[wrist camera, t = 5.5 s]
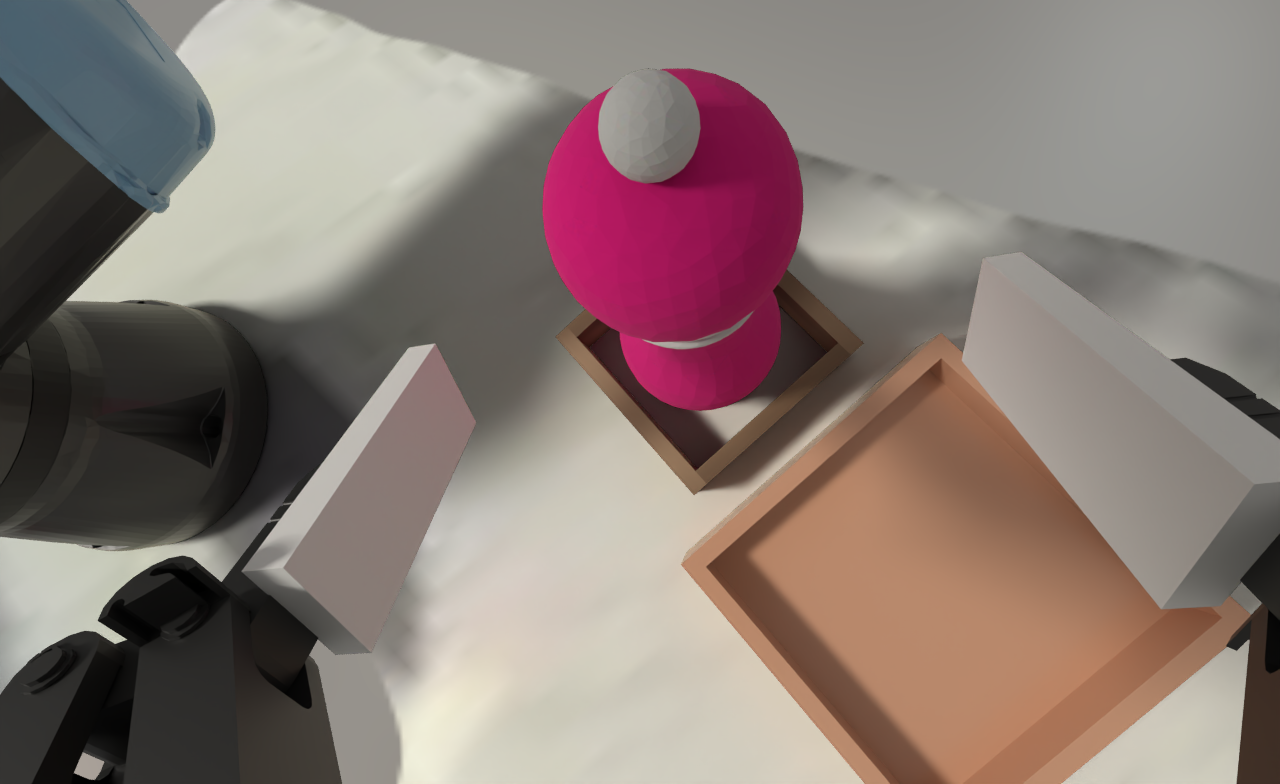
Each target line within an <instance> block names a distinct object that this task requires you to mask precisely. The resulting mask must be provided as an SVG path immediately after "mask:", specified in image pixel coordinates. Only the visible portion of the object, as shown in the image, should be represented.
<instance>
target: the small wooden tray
mask: <svg viewBox="0 0 1280 784" xmlns="http://www.w3.org/2000/svg"><path fill="white" fill-rule="evenodd" d="M773 292H774V294H775V297H776V299H777V303H778V305H780V306H781V307H782V308H783V309H784V310H785V311H786V312H787V313H788V314H789V315H790V316H791V317H792V318H793V319H794V320H795V321H796V322H797V323H798V324H799V325H800V326H801V327H802V328H803V329H804V330H805V331H806V332H807V333H808V334H809V335H810V336H811V337H812V338H813V339H814V340H815V341H816V342H817V343H818V344H819V345H820V346H821V347H822V348H823V349H824V350H825V351H827V353H826V354H825V355H824V356H823V357H822V358H821V359H820V360H819V361H817V362H816V363H815V364H814V365H813V366H812V367H811V368H810V369H809V370H807V371H806V372H805V373H804V374H803V375H802V376H801V377H800V378H798V379H797V380H796V381H795V382H794V383H793V384H792V385H791V386H790V387H788V388H787V389H786V390H785V391H784V392H783V393H782V394H781V395H780V396H778V397H777V398H776V399H775V400H774V401H773V402H772V403H771V404H770V405H768V406H767V407H766V408H765V409H764V410H763V411H762V412H761V413H760V414H758V415H757V416H756V417H755V418H754V419H753V420H752V421H751V422H750V423H748V424H747V425H746V426H745V427H744V428H743V429H742V430H741V431H740V432H738V433H737V434H736V435H735V436H734V437H733V438H732V439H731V440H729V441H728V442H727V443H726V444H725V445H724V446H723V447H722V448H721V449H719V450H718V451H717V452H716V453H715V454H714V455H713V456H712V457H711V458H709V459H708V460H707V461H706V462H705V463H704V464H703V465H702V466H701V467H699V468H698V469H697V468H696V466H695V465H694V464H693V463H692V462H691V461H690V460H689V459H688V457H687V456H686V455H685V454H684V453H683V452H682V451H681V450H680V448H679V447H678V446H677V445H676V444H675V443H674V442H673V441H672V440H671V438H670V437H669V436H668V435H667V434H666V433H665V432H664V431H663V429H662V428H661V427H660V426H659V425H658V424H657V423H656V422H655V420H654V419H653V418H652V417H651V416H650V415H649V414H648V413H647V411H646V410H645V409H644V408H643V407H642V406H641V405H640V404H639V402H638V401H637V400H636V399H635V398H634V397H633V396H632V395H631V393H630V392H629V391H628V390H627V389H626V388H625V387H624V386H623V384H622V383H621V382H620V381H619V380H618V379H617V378H616V377H615V375H614V374H613V373H612V372H611V371H610V370H609V369H608V368H607V367H606V365H605V364H604V363H603V362H602V361H601V360H600V359H599V358H598V356H597V355H596V354H595V353H594V352H593V351H592V350H591V349H590V347H591V346H592V345H593V344H594V343H595V342H596V341H597V340H598V339H599V338H600V337H602V336H603V335H604V334H605V333H606V332H607V331H608V330H609V329H610V328H611V327H609V326H608V325H606V324H605V323H603V322H602V321H600V320H599V319H597V318H596V317H594V316H593V315H592V314H591V313H590V312H589V311H587V310H586V309H585V310H584V311H583V312H582V313H581V314H580V315H578V316H577V317H576V318H575V319H574V320H573V321H572V322H571V323H570V324H569V325H568V326H567V327H566V328H564V329H563V330H562V331H561V332H560V333H559V334H558V335H557V336H556V338H557V339H558V340H559V342H560V343H561V344H562V345H563V346H564V347H565V348H566V350H567V351H568V352H569V353H570V354H571V355H572V356H573V358H574V359H575V360H576V361H577V362H578V363H579V364H580V366H581V367H582V368H583V369H584V370H585V371H586V372H587V374H588V375H589V376H590V377H591V378H592V379H593V380H594V382H595V383H596V384H597V385H598V386H599V387H600V388H601V390H602V391H603V392H604V393H605V394H606V395H607V396H608V398H609V399H610V400H611V401H612V402H613V403H614V404H615V406H616V407H617V408H618V409H619V410H620V411H621V412H622V413H623V415H624V416H625V417H626V418H627V419H628V420H629V421H630V423H631V424H632V425H633V426H634V427H635V428H636V429H637V431H638V432H639V433H640V434H641V435H642V436H643V437H644V439H645V440H646V441H647V442H648V443H649V444H650V445H651V447H652V448H653V449H654V450H655V451H656V452H657V453H658V455H659V456H660V457H661V458H662V459H663V460H664V461H665V463H666V464H667V465H668V466H669V467H670V468H671V469H672V471H673V472H674V473H675V474H676V475H677V476H678V477H679V479H680V480H681V481H682V482H683V483H684V484H685V485H686V487H687V488H688V489H689V490H690V491H691V492H692V493H693V495H695V494H696V493H697V492H698V491H700V490H701V489H702V488H703V487H704V486H705V485H706V484H707V483H709V482H710V481H711V480H712V479H713V478H714V477H715V476H716V475H717V474H719V473H720V472H721V471H722V470H723V469H724V468H725V467H726V466H728V465H729V464H730V463H731V462H732V461H733V460H734V459H735V458H736V457H738V456H739V455H740V454H741V453H742V452H743V451H744V450H745V449H746V448H748V447H749V446H750V445H751V444H752V443H753V442H754V441H755V440H757V439H758V438H759V437H760V436H761V435H762V434H763V433H764V432H765V431H767V430H768V429H769V428H770V427H771V426H772V425H773V424H774V423H776V422H777V421H778V420H779V419H780V418H781V417H782V416H783V415H784V414H786V413H787V412H788V411H789V410H790V409H791V408H792V407H793V406H794V405H796V404H797V403H798V402H799V401H800V400H801V399H802V398H803V397H805V396H806V395H807V394H808V393H809V392H810V391H811V390H812V389H813V388H815V387H816V386H817V385H818V384H819V383H820V382H821V381H822V380H824V379H825V378H826V377H827V376H828V375H829V374H830V373H831V372H832V371H834V370H835V369H836V368H837V367H838V366H839V365H840V364H841V363H842V362H844V361H845V360H846V359H847V358H848V357H849V356H850V355H851V354H853V353H854V352H855V351H856V350H857V349H858V348H859V347H860V346H861V345H863V344H864V343H863V342H862V341H861V340H860V339H859V338H858V337H857V336H856V335H855V334H854V333H853V332H852V331H851V330H849V329H848V328H847V327H846V326H845V325H844V324H843V323H842V322H841V321H840V320H839V319H838V318H837V317H836V316H835V315H834V314H833V313H832V312H831V311H830V310H829V309H827V308H826V307H825V306H824V305H823V304H822V303H821V302H820V301H819V300H818V299H817V298H816V297H815V296H814V295H813V294H812V293H811V292H810V291H809V290H808V289H807V288H805V287H804V286H803V285H802V284H801V283H800V282H799V281H798V280H797V279H796V278H795V277H794V276H793V275H792V274H791V273H790V272H789V271H788V270H787V269H786V271H785V273H784V275H783V277H782V278H781V280H780V282H779V283H778V284H777V286H776V287H775V288H774V290H773Z"/></svg>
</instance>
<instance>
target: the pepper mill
mask: <svg viewBox="0 0 1280 784" xmlns="http://www.w3.org/2000/svg"><path fill="white" fill-rule="evenodd" d="M542 210H543V221H544V230H545V238H546V241H547V244H548V247H549V250H550V254H551V257H552V260H553V263H554V266H555V267H556V269H557V271H558V273H559V275H560V277H561V279H562V281H563V282H564V284H565V285H566V287H567V288H568V289H569V291H570V292H571V293H572V295H573V296H574V298H575V299H576V300H577V302H579V303H580V304H581V305H582V306H583V307H584V308H585V309H586V310H587V311H589V312H590V313H591V314H592V315H593V316H594V317H596V318H597V319H599V320H600V321H602V322H603V323H605V324H606V325H608V326H609V327H611V328H613V329H615V330H617V331H619V332H620V341H621V346H622V351H623V354H624V357H625V359H626V362H627V364H628V366H629V368H630V370H631V371H632V373H633V374H634V376H635V377H636V379H637V381H638V382H639V383H640V384H641V385H642V386H643V387H644V388H645V389H646V390H647V391H648V392H649V393H650V394H652V395H653V396H655V397H656V398H658V399H659V400H660V401H662V402H665V403H667V404H669V405H672V406H674V407H678V408H682V409H686V410H698V411H702V410H713V409H717V408H721V407H725V406H728V405H730V404H732V403H735V402H737V401H739V400H740V399H742V398H744V397H745V396H747V395H748V394H750V393H751V392H752V391H753V390H754V389H755V388H757V387H758V386H759V385H760V383H761V382H762V381H763V380H764V379H765V377H766V376H767V375H768V373H769V371H770V370H771V368H772V366H773V364H774V362H775V359H776V357H777V354H778V350H779V346H780V339H781V318H780V310H779V306H778V303H777V299H776V297H775V294H774V292H773V290H774V288H775V287H776V286H777V284H778V283H779V282H780V280H781V278H782V277H783V275H784V273H785V271H786V269H787V267H788V265H789V263H790V261H791V259H792V256H793V254H794V252H795V250H796V246H797V242H798V239H799V235H800V231H801V223H802V214H803V188H802V182H801V176H800V171H799V165H798V160H797V158H796V155H795V153H794V150H793V148H792V146H791V143H790V141H789V138H788V136H787V133H786V132H785V130H784V129H783V128H782V126H781V125H780V123H779V122H778V121H777V119H776V118H775V117H774V115H773V114H772V113H771V111H770V110H769V109H768V107H767V106H766V105H765V104H764V103H763V102H762V101H760V100H759V99H758V98H756V97H755V96H754V95H753V94H751V93H750V92H749V91H747V90H746V89H745V88H744V87H742V86H740V84H738V83H735V82H733V81H730V80H728V79H726V78H724V77H721V76H719V75H716V74H712V73H707V72H703V71H698V70H694V69H662V70H656V69H649V68H648V69H642V70H638V71H635V72H632V73H629V74H627V75H625V76H624V77H622V78H621V79H620V80H619V81H618V82H617V83H616V84H615V85H614V86H613V87H611V88H609V89H608V90H606V91H604V92H603V93H601V94H599V95H597V96H596V97H595V98H594V99H593V100H591V101H590V102H589V103H588V104H587V105H586V106H584V107H583V108H582V110H581V111H580V112H579V113H578V114H577V116H576V117H575V118H574V119H573V120H572V122H571V123H570V124H569V125H568V127H567V129H566V130H565V132H564V134H563V136H562V137H561V139H560V141H559V142H558V144H557V146H556V147H555V149H554V152H553V154H552V157H551V159H550V161H549V165H548V169H547V174H546V178H545V182H544V190H543V209H542Z"/></svg>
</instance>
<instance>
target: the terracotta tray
mask: <svg viewBox="0 0 1280 784" xmlns="http://www.w3.org/2000/svg"><path fill="white" fill-rule="evenodd" d="M962 356H963V352H961V351H960V350H959V349H958V348H957V347H956V346H955V345H954V344H953V343H952V342H950V341H949V340H948V339H947V338H946V337H945V336H944V335H943V334H942V333H940V334H939V335H937V336H935V337H934V338H932V339H930V340H928V341H927V342H925V343H923V344H922V345H920V346H918V347H917V348H916V349H915V350H913V351H912V352H911V353H910V354H909V355H908V356H907V357H906V358H904V359H903V360H902V361H901V362H900V363H899V364H898V365H897V366H895V367H894V368H893V369H892V370H891V371H890V372H889V373H888V374H886V375H885V376H884V377H883V378H882V379H881V380H880V381H879V382H877V383H876V384H875V385H874V386H873V387H872V388H871V389H870V390H868V391H867V392H866V393H865V394H864V395H863V396H862V397H861V398H859V399H858V400H857V401H856V402H855V403H854V404H853V405H852V406H850V407H849V408H848V409H847V410H846V411H845V412H844V413H843V414H841V415H840V416H839V417H838V418H837V419H836V420H835V421H834V422H833V423H831V424H830V425H829V426H828V427H827V428H826V429H825V430H824V431H822V432H821V433H820V434H819V435H818V436H817V437H816V438H815V439H813V440H812V441H811V442H810V443H809V444H808V445H807V446H806V447H804V448H803V449H802V450H801V451H800V452H799V453H798V454H797V455H795V456H794V457H793V458H792V459H791V460H790V461H789V462H788V463H786V464H785V465H784V466H783V467H782V468H781V469H780V470H779V471H777V472H776V473H775V474H774V475H773V476H772V477H771V478H770V479H768V480H767V481H766V482H765V483H764V484H763V485H762V486H761V487H759V488H758V489H757V490H756V491H755V492H754V493H753V494H752V495H750V496H749V497H748V498H747V499H746V500H745V501H744V502H743V503H741V504H740V505H739V506H738V507H737V508H736V509H735V510H734V511H732V512H731V513H730V514H729V515H728V516H727V517H726V518H725V519H724V520H722V521H721V522H720V523H719V524H718V525H717V526H716V527H715V528H713V529H712V530H711V531H710V532H709V533H708V534H707V535H706V536H704V537H703V538H702V539H701V540H700V541H699V542H698V543H697V544H695V545H694V546H693V547H692V548H691V549H690V550H689V551H688V552H686V555H685V557H684V559H683V561H682V563H681V565H682V566H683V567H684V569H685V570H686V571H687V572H688V573H689V575H690V576H691V577H692V578H693V579H694V581H695V582H696V583H697V584H698V585H699V586H700V588H701V589H702V590H703V591H704V592H705V594H706V595H707V596H708V597H709V598H710V600H711V601H712V602H713V603H714V604H715V606H716V607H717V608H718V609H719V610H720V612H721V613H722V614H723V615H724V616H725V617H726V619H727V620H728V621H729V622H730V623H731V625H732V626H733V627H734V628H735V629H736V631H737V632H738V633H739V634H740V635H741V637H742V638H743V639H744V640H745V641H746V643H747V644H748V645H749V646H750V647H751V648H752V650H753V651H754V652H755V653H756V654H757V656H758V657H759V658H760V659H761V660H762V662H763V663H764V664H765V665H766V666H767V668H768V669H769V670H770V671H771V672H772V673H773V675H774V676H775V677H776V678H777V679H778V681H779V682H780V683H781V684H782V685H783V687H784V688H785V689H786V690H787V691H788V693H789V694H790V695H791V696H792V697H793V699H794V700H795V701H796V702H797V703H798V704H799V706H800V707H801V708H802V709H803V710H804V712H805V713H806V714H807V715H808V716H809V718H810V719H811V720H812V721H813V722H814V724H815V725H816V726H817V727H818V728H819V729H820V731H821V732H822V733H823V734H824V735H825V737H826V738H827V739H828V740H829V741H830V743H831V744H832V745H833V746H834V747H835V749H836V750H837V751H838V752H839V753H840V755H841V756H842V757H843V758H844V759H845V760H846V762H847V763H848V764H849V765H850V766H851V768H852V769H853V770H854V771H855V772H856V774H857V775H858V776H859V777H860V778H861V780H862V781H863V782H864V783H865V784H1061V783H1062V782H1064V781H1065V780H1066V779H1067V778H1068V777H1070V776H1071V775H1072V774H1073V773H1075V772H1076V771H1077V770H1078V769H1079V768H1081V767H1082V766H1083V765H1084V764H1085V763H1087V762H1088V761H1089V760H1090V759H1091V758H1093V757H1094V756H1095V755H1096V754H1097V753H1099V752H1100V751H1101V750H1102V749H1104V748H1105V747H1106V746H1107V745H1108V744H1110V743H1111V742H1112V741H1113V740H1114V739H1116V738H1117V737H1118V736H1119V735H1120V734H1122V733H1123V732H1124V731H1125V730H1127V729H1128V728H1129V727H1130V726H1131V725H1133V724H1134V723H1135V722H1136V721H1137V720H1139V719H1140V718H1141V717H1142V716H1143V715H1145V714H1146V713H1147V712H1148V711H1150V710H1151V709H1152V708H1153V707H1154V706H1156V705H1157V704H1158V703H1159V702H1160V701H1162V700H1163V699H1164V698H1165V697H1166V696H1168V695H1169V694H1170V693H1171V692H1173V691H1174V690H1175V689H1176V688H1177V687H1179V686H1180V685H1181V684H1182V683H1183V682H1185V681H1186V680H1187V679H1188V678H1189V677H1191V676H1192V675H1193V674H1194V673H1196V672H1197V671H1198V670H1199V669H1200V668H1202V667H1203V666H1204V665H1205V664H1206V663H1208V662H1209V661H1210V660H1211V659H1212V658H1214V657H1215V656H1216V655H1217V654H1218V653H1220V652H1221V651H1222V650H1223V649H1225V648H1226V647H1227V646H1226V645H1227V643H1228V641H1229V640H1230V638H1231V636H1232V635H1233V634H1234V633H1235V632H1236V631H1237V630H1238V629H1239V627H1240V626H1241V625H1242V624H1243V623H1244V622H1245V621H1246V620H1247V619H1248V618H1249V617H1250V616H1251V615H1250V614H1249V613H1248V612H1247V611H1246V610H1245V609H1244V608H1243V607H1242V606H1240V605H1239V604H1238V603H1237V602H1236V601H1235V600H1234V599H1233V598H1232V597H1231V596H1229V597H1228V598H1227V599H1226V600H1225V601H1224V603H1223V604H1222V605H1221V606H1214V607H1196V608H1178V609H1160V607H1159V606H1158V605H1157V604H1156V602H1155V601H1154V600H1153V599H1152V597H1151V596H1150V595H1149V594H1148V592H1147V591H1146V590H1145V589H1144V587H1143V586H1142V585H1141V584H1140V582H1139V581H1138V580H1137V579H1136V577H1135V576H1134V575H1133V574H1132V572H1131V571H1130V570H1129V569H1128V567H1127V566H1126V565H1125V564H1124V562H1123V561H1122V560H1121V559H1120V558H1119V556H1118V555H1117V554H1116V553H1115V551H1114V550H1113V549H1112V548H1111V546H1110V545H1109V544H1108V543H1107V541H1106V540H1105V539H1104V538H1103V536H1102V535H1101V534H1100V533H1099V531H1098V530H1097V529H1096V528H1095V526H1094V525H1093V524H1092V523H1091V521H1090V520H1089V519H1088V518H1087V516H1086V515H1085V514H1084V513H1083V511H1082V510H1081V509H1080V508H1079V506H1078V505H1077V504H1076V503H1075V501H1074V500H1073V499H1072V498H1071V496H1070V495H1069V494H1068V493H1067V491H1066V490H1065V489H1064V488H1063V486H1062V485H1061V484H1060V483H1059V481H1058V480H1057V479H1056V478H1055V476H1054V475H1053V474H1052V473H1051V471H1050V470H1049V469H1048V468H1047V466H1046V465H1045V464H1044V463H1043V461H1042V460H1041V459H1040V458H1039V456H1038V455H1037V454H1036V453H1035V451H1034V450H1033V449H1032V448H1031V446H1030V445H1029V444H1028V443H1027V441H1026V440H1025V439H1024V438H1023V436H1022V435H1021V434H1020V433H1019V431H1018V430H1017V429H1016V428H1015V426H1014V425H1013V424H1012V423H1011V421H1010V420H1009V419H1008V418H1007V416H1006V415H1005V414H1004V413H1003V412H1002V410H1001V409H1000V408H999V407H998V405H997V404H996V403H995V402H994V400H993V399H992V398H991V397H990V395H989V394H988V393H987V392H986V390H985V389H984V388H983V387H982V385H981V384H980V383H979V382H978V380H977V379H976V378H975V377H974V375H973V374H972V373H971V372H970V370H969V369H968V368H967V367H966V365H965V364H964V363H963V362H962Z"/></svg>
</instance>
